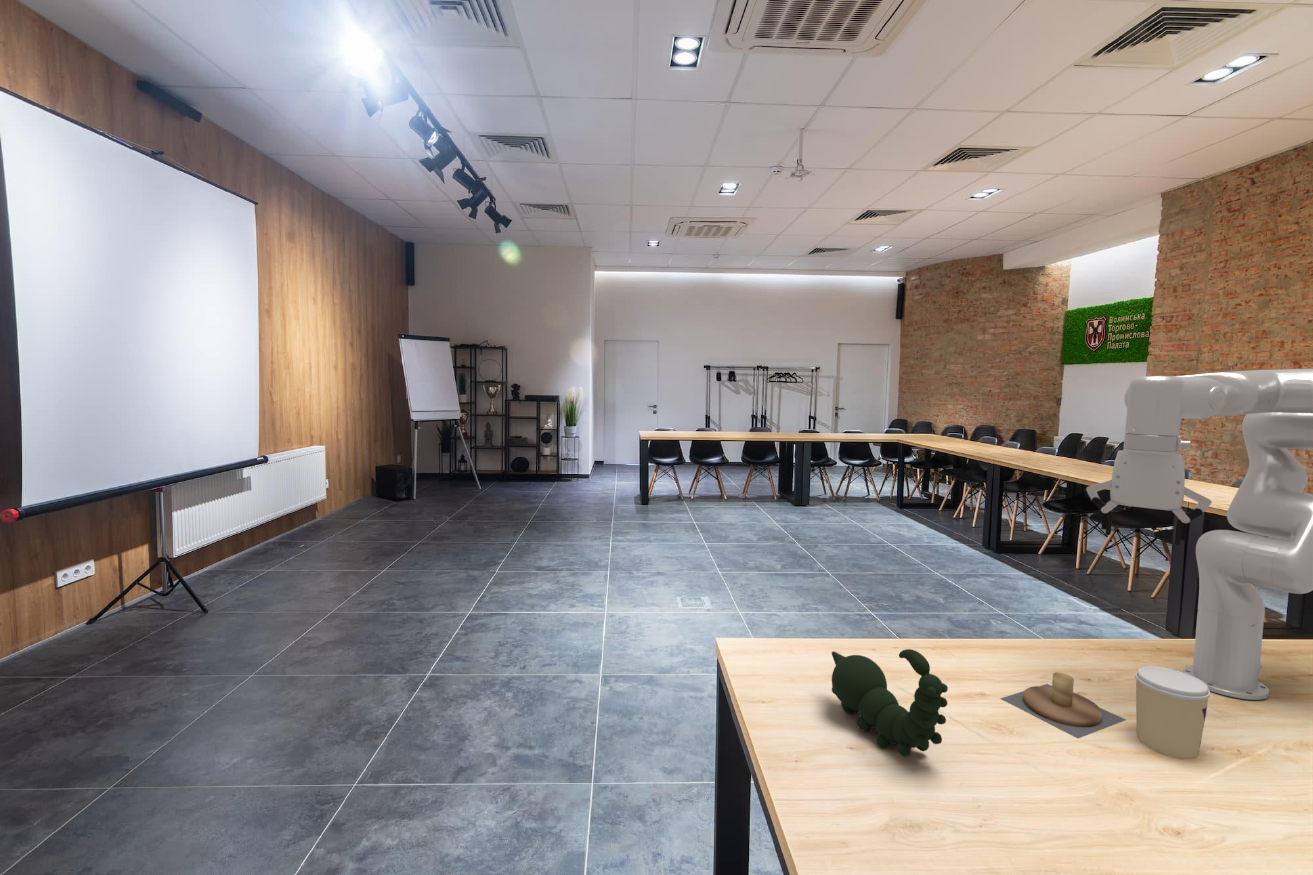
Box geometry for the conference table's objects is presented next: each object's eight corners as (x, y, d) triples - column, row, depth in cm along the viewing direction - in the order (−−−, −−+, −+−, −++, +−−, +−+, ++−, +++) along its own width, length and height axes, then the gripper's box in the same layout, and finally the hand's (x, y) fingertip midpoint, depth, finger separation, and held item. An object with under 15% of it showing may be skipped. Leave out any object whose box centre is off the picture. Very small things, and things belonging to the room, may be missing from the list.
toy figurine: (951, 773, 93) (848, 686, 116) (966, 664, 90) (856, 597, 113) (906, 788, 90) (808, 695, 113) (919, 675, 87) (816, 603, 110)
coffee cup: (1220, 768, 92) (1226, 695, 91) (1152, 761, 94) (1157, 689, 93) (1180, 734, 101) (1185, 668, 100) (1118, 728, 103) (1123, 662, 102)
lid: (1048, 687, 116) (1050, 657, 116) (1116, 718, 105) (1119, 685, 105) (1008, 699, 111) (1010, 668, 111) (1075, 733, 100) (1077, 699, 100)
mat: (1046, 686, 117) (1047, 683, 117) (1126, 722, 105) (1126, 719, 105) (1000, 701, 112) (1000, 698, 112) (1077, 741, 99) (1077, 738, 99)
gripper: (1214, 448, 102) (1204, 544, 103) (1091, 440, 113) (1084, 527, 114) (1219, 450, 96) (1208, 551, 97) (1089, 441, 107) (1081, 533, 108)
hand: (1141, 538), depth 106 cm, fingers open, 9 cm apart
